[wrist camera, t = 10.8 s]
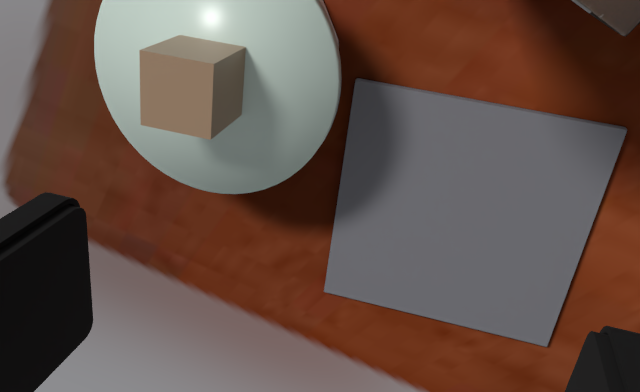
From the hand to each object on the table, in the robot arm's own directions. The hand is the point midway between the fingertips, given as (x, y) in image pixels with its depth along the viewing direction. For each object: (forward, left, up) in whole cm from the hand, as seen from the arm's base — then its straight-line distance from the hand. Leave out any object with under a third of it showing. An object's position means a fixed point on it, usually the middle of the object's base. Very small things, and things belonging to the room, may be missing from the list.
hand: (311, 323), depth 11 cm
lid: (+12, +3, -24) cm, 27 cm away
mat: (-4, +12, -30) cm, 33 cm away
